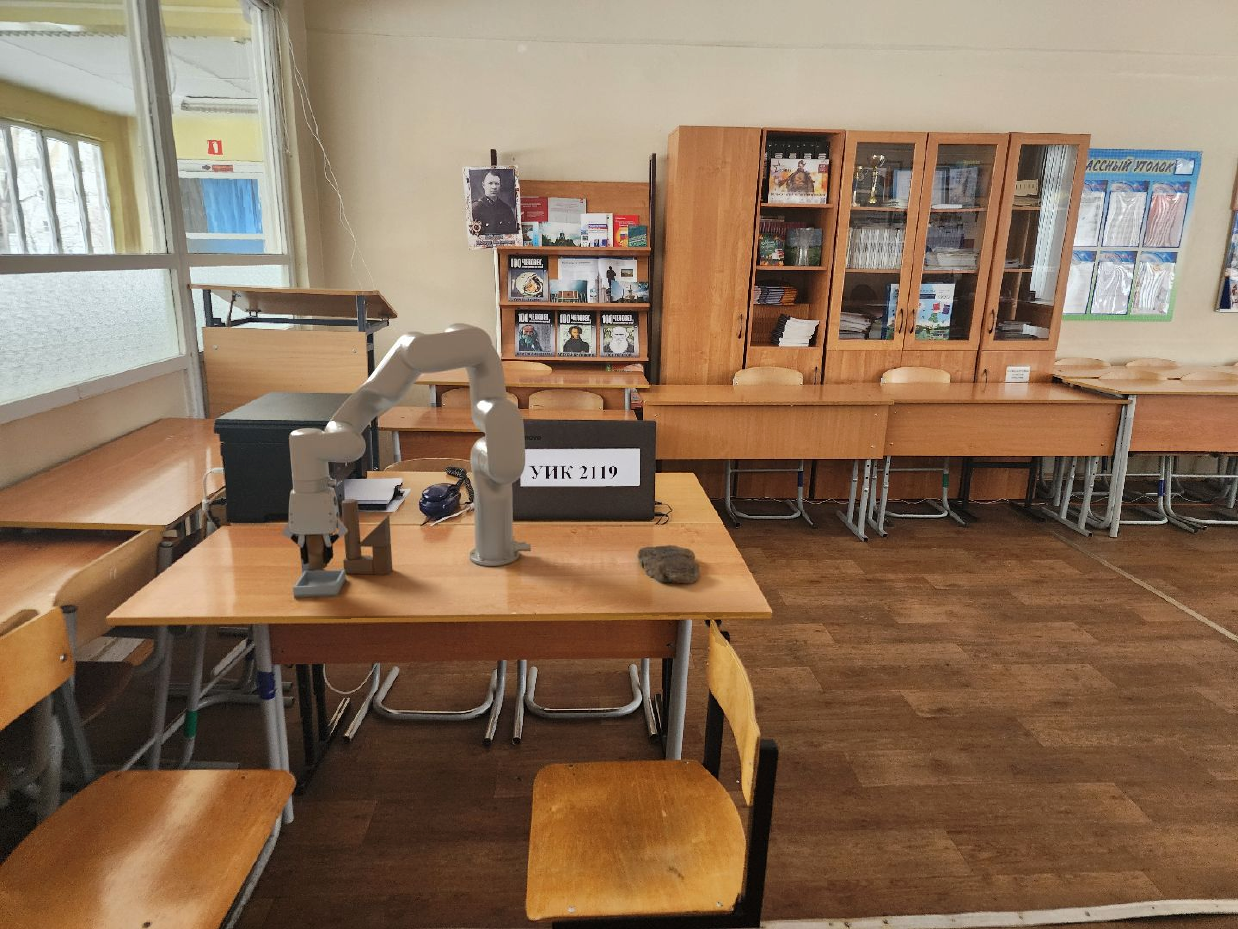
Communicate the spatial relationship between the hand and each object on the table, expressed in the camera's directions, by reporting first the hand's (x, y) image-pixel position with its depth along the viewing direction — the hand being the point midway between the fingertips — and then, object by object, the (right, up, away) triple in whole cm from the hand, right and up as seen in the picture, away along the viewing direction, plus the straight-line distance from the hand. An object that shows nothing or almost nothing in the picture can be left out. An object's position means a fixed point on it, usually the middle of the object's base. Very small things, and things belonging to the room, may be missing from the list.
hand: (317, 560), depth 170 cm
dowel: (0, -1, 0) cm, 1 cm away
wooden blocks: (+8, -4, +12) cm, 15 cm away
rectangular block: (-5, -4, +10) cm, 12 cm away
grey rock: (+81, -5, +16) cm, 83 cm away
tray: (0, -7, +2) cm, 7 cm away
